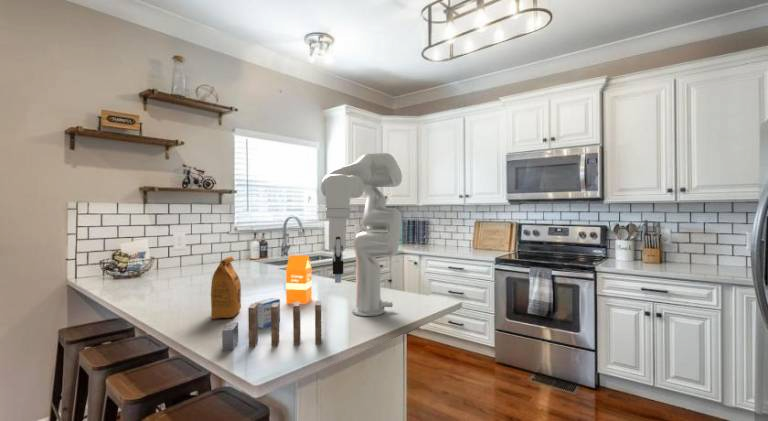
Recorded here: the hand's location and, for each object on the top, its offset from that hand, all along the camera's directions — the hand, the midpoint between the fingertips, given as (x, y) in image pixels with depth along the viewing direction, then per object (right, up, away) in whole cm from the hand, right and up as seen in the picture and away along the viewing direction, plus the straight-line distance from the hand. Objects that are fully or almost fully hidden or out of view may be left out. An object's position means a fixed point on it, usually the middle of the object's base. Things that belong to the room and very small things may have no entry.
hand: (337, 271), depth 121 cm
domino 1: (-25, -22, -4) cm, 34 cm away
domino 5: (0, -3, 0) cm, 3 cm away
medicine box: (-27, -21, +15) cm, 38 cm away
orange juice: (-22, -21, +47) cm, 56 cm away
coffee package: (-46, -21, +27) cm, 57 cm away
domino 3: (-12, -22, -2) cm, 25 cm away
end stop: (-32, -22, -5) cm, 39 cm away
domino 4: (-6, -22, -1) cm, 22 cm away
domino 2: (-19, -22, -3) cm, 29 cm away
